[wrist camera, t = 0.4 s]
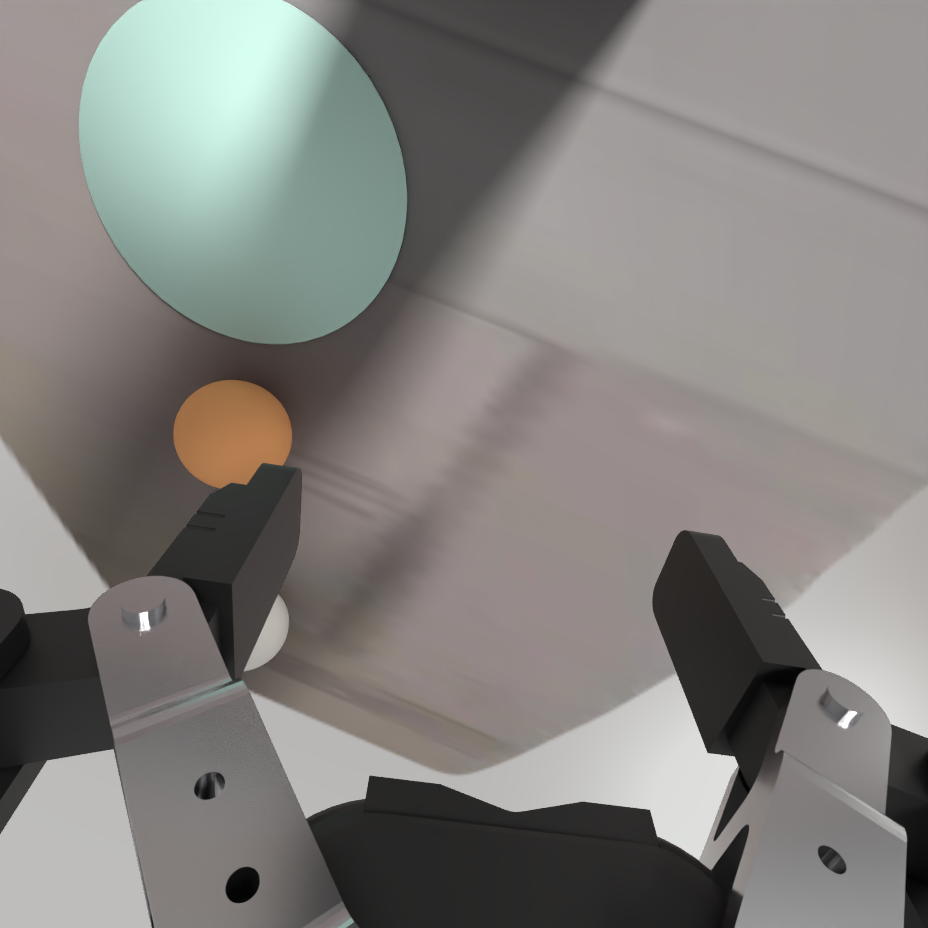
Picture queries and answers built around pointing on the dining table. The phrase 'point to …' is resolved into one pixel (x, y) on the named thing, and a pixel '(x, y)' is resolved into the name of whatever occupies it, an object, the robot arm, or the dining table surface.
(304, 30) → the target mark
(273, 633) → the cue ball
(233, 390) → the orange ball
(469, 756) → the dining table surface
